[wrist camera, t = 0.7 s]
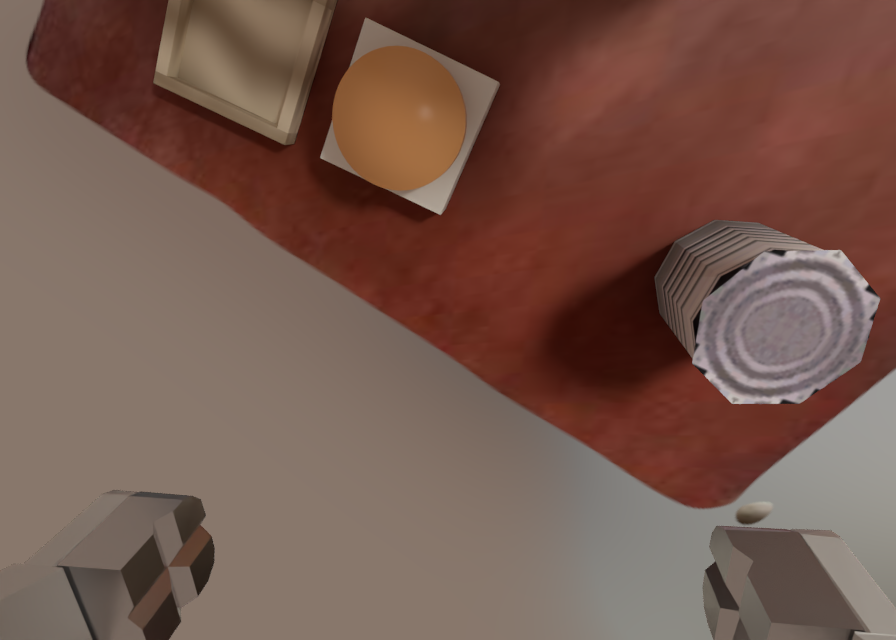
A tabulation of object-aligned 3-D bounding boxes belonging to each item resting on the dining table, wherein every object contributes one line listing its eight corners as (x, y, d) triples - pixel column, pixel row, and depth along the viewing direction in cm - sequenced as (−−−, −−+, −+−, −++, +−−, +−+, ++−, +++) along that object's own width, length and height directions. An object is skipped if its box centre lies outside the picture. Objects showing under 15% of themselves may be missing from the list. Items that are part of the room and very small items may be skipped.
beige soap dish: (198, -70, 40) (182, -79, 38) (338, -2, 41) (329, -8, 39) (168, 84, 45) (153, 82, 43) (294, 144, 45) (284, 144, 43)
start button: (365, 24, 37) (358, 20, 36) (489, 84, 38) (487, 82, 36) (322, 155, 41) (315, 156, 40) (435, 208, 42) (432, 212, 40)
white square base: (375, 24, 41) (365, 17, 38) (500, 84, 41) (498, 81, 39) (332, 155, 45) (319, 158, 42) (445, 209, 46) (440, 215, 43)
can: (728, 188, 42) (803, 211, 31) (822, 276, 43) (926, 328, 32) (624, 288, 46) (657, 341, 35) (714, 366, 47) (773, 440, 36)
